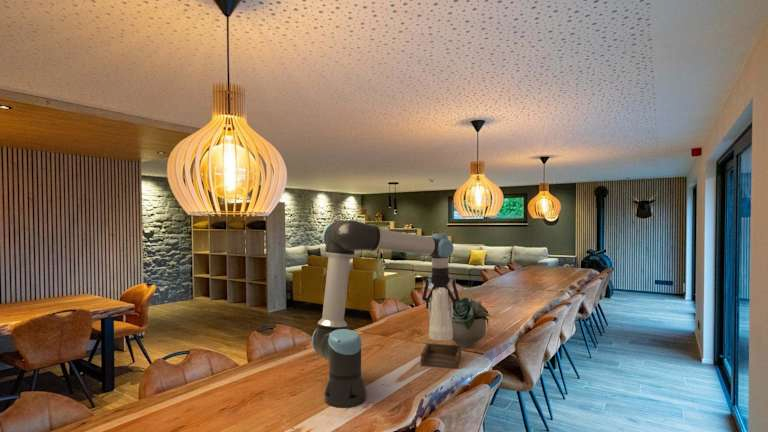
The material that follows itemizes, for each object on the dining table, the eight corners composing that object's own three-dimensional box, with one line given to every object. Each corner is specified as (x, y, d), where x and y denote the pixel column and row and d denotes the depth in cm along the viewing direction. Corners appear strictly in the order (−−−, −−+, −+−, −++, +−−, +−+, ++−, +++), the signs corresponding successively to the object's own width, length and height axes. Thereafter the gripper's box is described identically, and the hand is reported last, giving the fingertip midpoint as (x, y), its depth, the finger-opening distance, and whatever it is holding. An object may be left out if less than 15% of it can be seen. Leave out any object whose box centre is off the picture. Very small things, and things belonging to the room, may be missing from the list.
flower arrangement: (500, 349, 202) (499, 299, 203) (456, 355, 194) (455, 303, 194) (473, 336, 226) (472, 292, 226) (432, 341, 217) (432, 295, 218)
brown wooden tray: (458, 368, 176) (458, 357, 176) (420, 365, 180) (420, 354, 180) (461, 356, 192) (461, 345, 192) (426, 353, 196) (426, 343, 196)
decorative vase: (452, 341, 179) (451, 284, 180) (428, 340, 182) (427, 284, 182) (453, 334, 190) (452, 281, 191) (430, 333, 192) (429, 280, 193)
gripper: (465, 266, 187) (466, 315, 187) (417, 265, 193) (418, 313, 192) (464, 268, 180) (465, 319, 180) (414, 267, 186) (415, 316, 185)
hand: (441, 316), depth 186 cm, fingers closed on decorative vase, 9 cm apart
